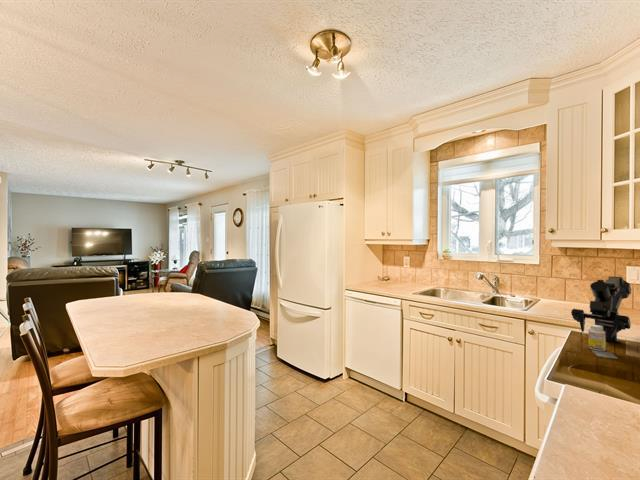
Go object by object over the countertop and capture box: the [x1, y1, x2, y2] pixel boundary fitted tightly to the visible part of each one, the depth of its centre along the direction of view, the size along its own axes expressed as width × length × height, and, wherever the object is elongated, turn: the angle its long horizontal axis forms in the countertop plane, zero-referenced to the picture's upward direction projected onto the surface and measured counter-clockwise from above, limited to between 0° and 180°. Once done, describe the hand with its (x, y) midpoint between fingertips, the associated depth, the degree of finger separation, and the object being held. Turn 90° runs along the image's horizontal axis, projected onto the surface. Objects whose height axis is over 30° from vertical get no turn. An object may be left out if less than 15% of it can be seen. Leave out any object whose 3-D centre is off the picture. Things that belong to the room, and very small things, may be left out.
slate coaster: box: [591, 349, 619, 360], centre depth 123 cm, size 6×6×1 cm
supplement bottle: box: [587, 323, 607, 352], centre depth 129 cm, size 6×6×10 cm
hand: (596, 334), depth 129 cm, fingers open, 9 cm apart
